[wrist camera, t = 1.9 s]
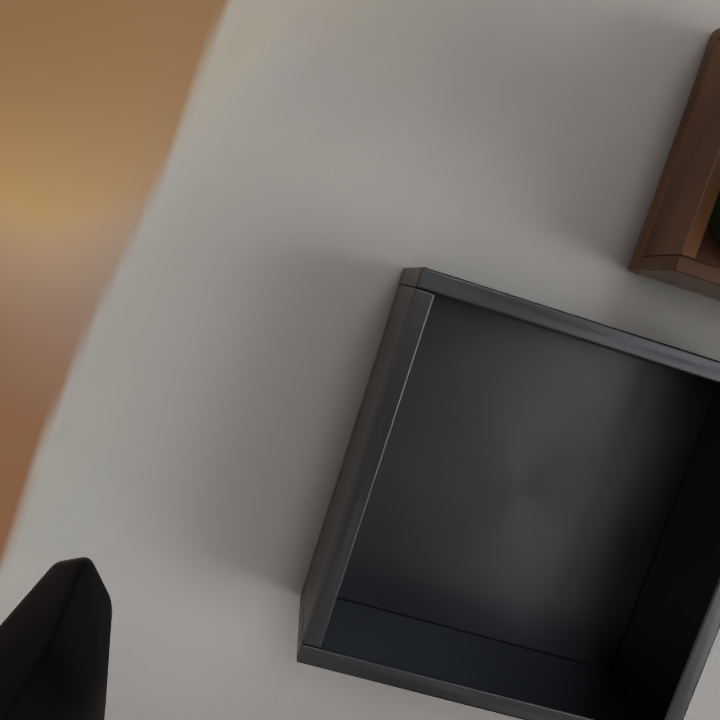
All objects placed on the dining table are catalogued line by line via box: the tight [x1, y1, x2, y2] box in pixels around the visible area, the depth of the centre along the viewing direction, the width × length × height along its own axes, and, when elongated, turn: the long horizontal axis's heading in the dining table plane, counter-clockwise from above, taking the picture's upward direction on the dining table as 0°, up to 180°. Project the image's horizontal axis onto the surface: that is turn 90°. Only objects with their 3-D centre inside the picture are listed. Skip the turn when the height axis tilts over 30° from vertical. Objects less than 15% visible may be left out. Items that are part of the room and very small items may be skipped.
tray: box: [297, 267, 720, 720], centre depth 22 cm, size 12×12×4 cm
